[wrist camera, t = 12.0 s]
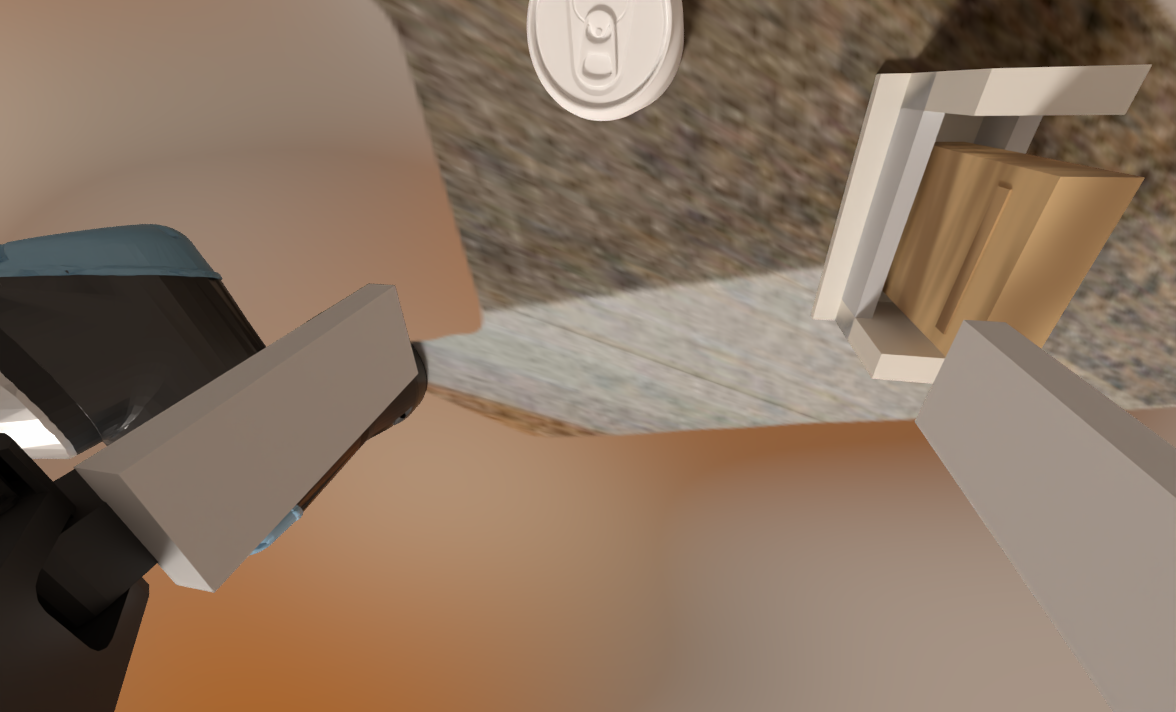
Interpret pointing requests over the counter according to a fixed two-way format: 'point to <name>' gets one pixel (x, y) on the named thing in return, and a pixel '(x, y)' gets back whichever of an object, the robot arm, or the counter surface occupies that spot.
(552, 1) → the beverage can
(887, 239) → the door track
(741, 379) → the counter surface
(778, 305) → the counter surface
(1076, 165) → the door panel
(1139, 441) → the robot arm
